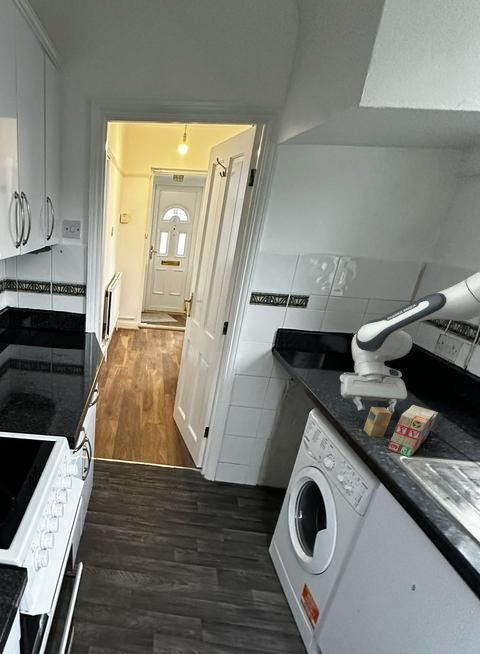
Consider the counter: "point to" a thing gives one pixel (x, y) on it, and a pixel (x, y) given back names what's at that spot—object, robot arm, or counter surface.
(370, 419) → the birch block
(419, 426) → the stack of blocks
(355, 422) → the counter surface
